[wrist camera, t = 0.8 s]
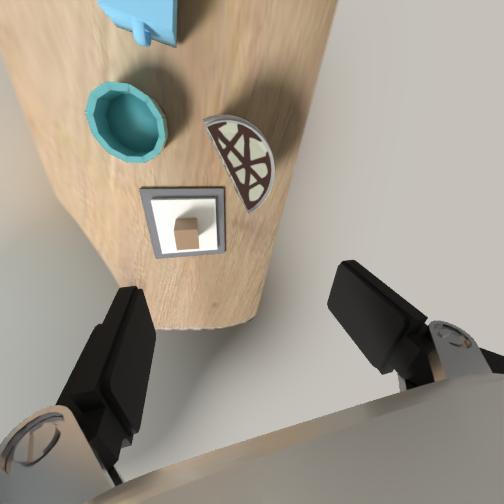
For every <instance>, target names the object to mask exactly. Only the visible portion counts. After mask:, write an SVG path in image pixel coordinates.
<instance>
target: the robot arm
mask: <svg viewBox="0 0 504 504" xmlns="http://www.w3.org/2000/svg"><path fill="white" fill-rule="evenodd" d="M327 305H328V308H329V310H330V311H331V312H332V313H333V315H334V316H335V318H336V319H337V320H338V322H339V323H340V324H341V325H342V327H343V328H344V329H345V331H346V332H347V333H348V334H349V336H350V337H351V338H352V340H353V341H354V342H355V344H356V345H357V346H358V347H359V349H360V350H361V351H362V352H363V354H364V355H365V356H366V358H367V359H368V360H369V361H370V363H371V364H372V365H373V366H374V367H375V368H377V369H378V370H379V371H380V373H381V374H382V375H383V374H387V373H390V372H392V371H393V370H394V369H395V370H396V372H397V373H398V380H399V388H400V393H396V394H393V395H390V396H386V397H383V398H380V399H377V400H373V401H370V402H367V403H364V404H360V405H357V406H354V407H351V408H348V409H344V410H341V411H338V412H335V413H332V414H328V415H325V416H322V417H319V418H315V419H312V420H309V421H306V422H303V423H299V424H296V425H293V426H290V427H287V428H284V429H281V430H277V431H274V432H271V433H268V434H265V435H262V436H258V437H256V438H252V439H249V440H246V441H243V442H240V443H237V444H233V445H230V446H227V447H224V448H221V449H218V450H215V451H211V452H209V453H205V454H203V455H200V456H197V457H194V458H191V459H188V460H185V461H182V462H179V463H176V464H173V465H170V466H167V467H164V468H161V469H158V470H155V471H153V472H151V473H148V474H145V475H143V476H140V477H138V478H135V479H133V480H130V481H128V482H124V480H123V478H122V476H121V474H120V473H119V471H118V469H117V467H116V466H115V463H116V462H117V461H118V459H119V454H120V450H121V448H123V447H127V446H131V444H132V440H133V435H134V434H135V433H138V432H139V429H140V425H141V419H142V414H143V408H144V403H145V397H146V392H147V386H148V380H149V375H150V368H151V364H152V358H153V353H154V347H155V341H156V332H155V329H154V325H153V322H152V319H151V315H150V312H149V309H148V306H147V302H146V299H145V296H144V292H143V290H142V289H138V288H137V286H130V287H122V288H119V290H118V292H117V294H116V296H115V298H114V300H113V302H112V304H111V307H110V309H109V311H108V313H107V315H106V317H105V319H104V321H103V323H102V324H98V325H97V326H96V327H95V328H94V330H93V332H92V333H91V335H90V338H89V339H88V341H87V343H86V345H85V347H84V349H83V351H82V353H81V355H80V357H79V359H78V361H77V363H76V365H75V368H74V369H73V371H72V373H71V375H70V377H69V379H68V381H67V383H66V385H65V387H64V389H63V391H62V393H61V395H60V397H59V399H58V401H57V403H56V405H55V406H50V407H47V408H45V409H42V410H40V411H38V412H36V413H34V414H33V415H31V416H29V417H28V418H26V419H25V420H24V421H22V422H21V423H20V424H19V425H18V426H16V427H15V428H14V429H13V430H12V431H11V432H10V433H9V434H8V435H7V437H5V438H4V440H3V441H2V442H1V444H0V504H504V356H502V355H499V354H496V353H493V352H491V351H487V350H485V349H482V348H479V347H478V345H477V343H476V342H475V341H474V339H473V338H472V337H471V336H470V335H469V334H467V333H466V332H465V331H463V330H462V329H461V328H459V327H457V326H454V325H453V324H450V323H447V322H444V321H432V322H431V323H430V324H429V325H428V326H427V325H426V324H425V321H426V320H427V318H428V317H426V316H425V315H424V314H423V313H421V312H420V311H419V310H418V309H416V308H415V307H414V306H413V305H411V304H410V303H409V302H407V301H406V300H405V299H403V298H402V297H401V296H400V295H399V294H397V293H396V292H395V291H393V290H392V289H391V288H390V287H388V286H387V285H386V284H385V283H383V282H382V281H381V280H379V279H378V278H377V277H376V276H374V275H373V274H372V273H371V272H369V271H368V270H367V269H365V268H364V267H363V266H362V265H360V264H359V263H358V262H356V261H355V260H347V261H342V262H341V264H340V265H339V266H338V268H337V272H336V275H335V278H334V282H333V285H332V288H331V292H330V295H329V299H328V302H327Z"/></svg>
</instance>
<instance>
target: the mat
mask: <svg viewBox="0 0 504 504" xmlns="http://www.w3.org/2000/svg"><path fill="white" fill-rule="evenodd" d="M139 191H140V195H141V200H142V204H143V208H144V212H145V216H146V220H147V225H148V229H149V233H150V237H151V241H152V245H153V250H154V254H155V258H156V259H160V258H172V257H185V256H197V255H209V254H221V253H225V242H224V189H223V188H141V189H139ZM166 198H215V204H216V228H217V250H206V251H193V252H180V253H167V254H162V250H161V246H160V241H159V236H158V232H157V227H156V222H155V218H154V213H153V208H152V204H151V199H166Z"/></svg>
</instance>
